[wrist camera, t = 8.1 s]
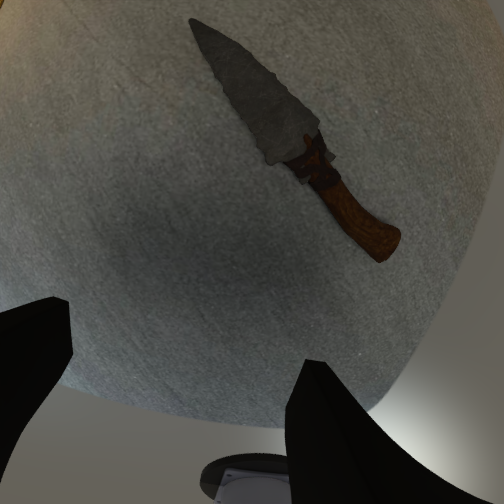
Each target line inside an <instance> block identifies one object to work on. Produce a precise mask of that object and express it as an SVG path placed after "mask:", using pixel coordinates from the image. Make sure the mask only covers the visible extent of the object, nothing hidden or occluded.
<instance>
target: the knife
mask: <svg viewBox="0 0 504 504" xmlns="http://www.w3.org/2000/svg"><path fill="white" fill-rule="evenodd" d="M189 24H190V27H191V29H192V32H193V34H194V37H195V39H196V41H197V43H198V45H199V48H200V50H201V52H202V54H203V55H204V57H205V58H206V59H207V61H208V62H209V64H210V66H211V68H212V70H213V72H214V76H215V78H217V79H218V80H220V81H221V82H222V85H223V92H224V93H226V94H227V95H228V96H229V97H230V100H231V105H232V106H233V107H234V108H235V109H236V110H237V111H238V112H239V114H240V117H241V118H242V119H243V120H244V121H245V122H246V123H247V124H248V127H249V129H250V130H251V132H252V133H253V134H254V135H255V136H256V137H257V147H258V148H259V149H261V150H262V151H263V152H264V153H265V159H266V162H267V164H268V165H270V166H273V165H274V164H275V163H277V162H279V161H283V163H284V164H285V165H287V166H288V167H289V168H291V169H292V170H293V171H294V173H295V174H296V176H297V177H298V178H299V182H300V183H301V184H302V185H303V184H305V183H306V182H307V181H308V182H309V184H310V185H311V187H312V188H313V189H314V190H315V191H317V192H318V194H319V195H320V196H321V198H322V199H323V201H324V202H325V203H326V205H327V206H328V208H329V210H330V211H331V213H332V214H333V215H334V217H335V218H336V220H337V221H338V222H339V224H340V225H341V227H342V229H343V230H344V231H345V232H346V233H347V234H348V235H349V236H350V237H351V238H352V239H354V240H355V241H356V242H357V243H358V244H359V245H360V246H361V247H362V248H363V249H364V250H365V251H366V252H367V253H368V254H369V255H370V256H371V257H372V258H373V259H374V260H375V261H376V262H378V263H381V262H383V261H384V260H385V261H386V260H387V259H388V258H389V257H390V256H391V255H392V253H393V252H394V251H395V249H396V248H397V246H398V244H399V242H400V239H401V232H400V230H399V229H398V228H396V227H394V226H392V225H389V224H384V223H382V222H381V221H379V220H378V219H376V218H375V217H374V216H372V215H371V214H370V213H368V212H367V211H366V210H365V209H364V208H363V207H362V206H361V205H360V204H359V203H358V202H357V201H356V199H355V198H354V197H353V196H352V194H351V193H350V192H349V190H348V189H347V187H346V186H345V185H344V183H343V181H342V180H341V176H340V174H339V173H338V171H337V170H336V169H334V168H333V167H332V166H331V164H330V163H329V162H331V161H333V160H334V159H335V157H336V156H335V155H334V154H333V153H331V152H329V150H328V149H327V147H326V144H325V143H324V140H323V137H322V135H321V132H320V130H319V129H318V125H319V123H320V120H319V119H318V118H317V117H316V116H314V115H313V113H312V112H311V110H309V109H308V108H306V107H305V106H304V105H303V104H302V103H301V102H300V101H299V100H298V98H296V97H294V96H293V95H291V94H290V93H289V92H288V89H287V87H286V86H284V85H283V84H281V83H280V82H279V81H278V80H277V78H276V74H275V73H272V72H270V71H268V70H267V69H266V68H265V67H264V66H262V65H261V64H260V63H259V62H258V61H257V60H256V59H255V58H254V57H253V55H252V54H251V52H249V51H248V50H246V49H245V48H243V47H242V46H241V45H240V44H239V43H237V42H235V41H233V40H232V39H230V38H228V37H226V36H225V35H223V34H222V33H220V32H219V31H217V30H215V29H213V28H211V27H209V26H207V25H205V24H203V23H201V22H200V21H198V20H196V19H193V18H190V19H189Z"/></svg>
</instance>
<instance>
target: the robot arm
mask: <svg viewBox="0 0 504 504" xmlns="http://www.w3.org/2000/svg"><path fill="white" fill-rule="evenodd" d="M72 356H73V347H72V337H71V326H70V313H69V302H68V301H66V300H63V299H60V298H57V297H54V296H53V297H48V298H44V299H41V300H37V301H34V302H31V303H28V304H25V305H22V306H19V307H16V308H13V309H10V310H7V311H4V312H1V313H0V482H1V479H2V476H3V473H4V471H5V468H6V466H7V463H8V461H9V458H10V456H11V454H12V451H13V450H14V447H15V445H16V443H17V441H18V439H19V437H20V435H21V433H22V432H23V430H24V428H25V427H26V425H27V424H28V422H29V421H30V419H31V418H32V417H33V415H34V414H35V412H36V411H37V409H38V408H39V407H40V405H41V404H42V403H43V401H44V400H45V398H46V397H47V396H48V394H49V393H50V392H51V390H52V389H53V388H54V386H55V385H56V383H57V382H58V381H59V379H60V378H61V376H62V374H63V372H64V371H65V369H66V367H67V365H68V363H69V361H70V359H71V358H72ZM285 445H286V454H287V464H288V473H289V474H277V473H267V472H257V471H249V470H242V469H235V468H227V469H225V471H224V474H223V477H222V480H221V483H220V486H219V488H218V491H217V494H216V497H215V499H214V503H213V504H493V503H490V502H487V501H485V500H482V499H480V498H477V497H475V496H473V495H471V494H469V493H467V492H465V491H463V490H461V489H459V488H457V487H455V486H454V485H452V484H450V483H449V482H447V481H445V480H444V479H442V478H441V477H439V476H438V475H436V474H435V473H433V472H432V471H430V470H429V469H427V468H426V467H425V466H423V465H422V464H421V463H419V462H418V461H417V460H415V459H414V458H413V457H412V456H411V455H409V454H408V453H407V452H406V451H405V450H403V449H402V448H401V447H400V446H399V445H398V444H397V443H396V442H395V441H393V440H392V439H391V438H390V437H389V436H388V435H387V434H386V433H385V432H384V431H383V430H382V428H381V427H380V426H379V425H378V424H377V423H376V422H375V421H374V420H373V419H372V418H371V417H370V416H369V415H368V413H367V412H366V411H365V410H364V409H363V408H362V406H361V405H360V404H359V403H358V402H357V400H356V399H355V398H354V397H353V396H352V394H351V393H350V392H349V391H348V389H347V388H346V387H345V386H344V384H343V383H342V382H341V381H340V379H339V378H338V377H337V376H336V374H335V373H334V372H333V371H332V369H331V368H330V367H329V366H328V365H327V363H326V362H321V361H314V360H308V359H305V361H304V364H303V367H302V369H301V372H300V374H299V376H298V379H297V381H296V384H295V386H294V389H293V391H292V393H291V396H290V398H289V401H288V403H287V405H286V409H285Z"/></svg>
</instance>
